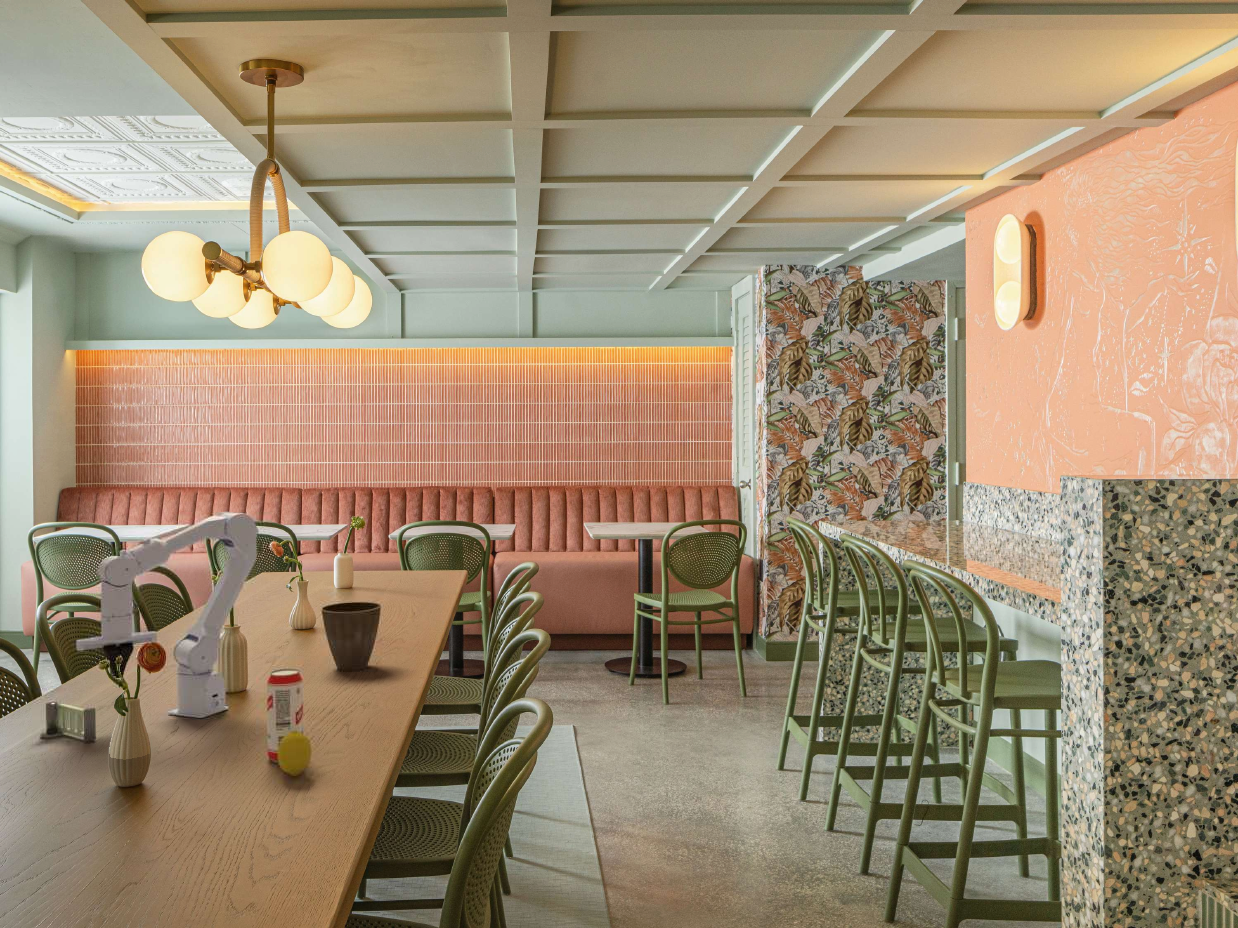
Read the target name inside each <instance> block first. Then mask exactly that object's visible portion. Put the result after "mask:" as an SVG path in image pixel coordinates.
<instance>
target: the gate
mask: <svg viewBox="0 0 1238 928" xmlns="http://www.w3.org/2000/svg"><path fill="white" fill-rule="evenodd" d="M96 718H97V716H96V708H95V707H88V708H81V707H78V706H74V705H70V704H66V703H61V702H58V731H61V732H64V734H68V735H72V736H74V737H75V736H76V737H79V738H82V739H83V741H84V742H93V741H96V740H97V737H96V735H97V734H96V733H97V732H96V731H97V730H96V728H97V727H96V726H97V725H96Z"/></svg>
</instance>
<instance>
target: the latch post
mask: <svg viewBox="0 0 1238 928" xmlns="http://www.w3.org/2000/svg"><path fill="white" fill-rule="evenodd" d="M58 703H59V702H57V701H51V702H46V703H45V726H46V727H45V729H46V730H45V731H43V732H42V733H40V735H39V737H40V739H43V740H49V739H56V738H60V737H63V736H64V735H65V733H64V732H61V731H58Z"/></svg>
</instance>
